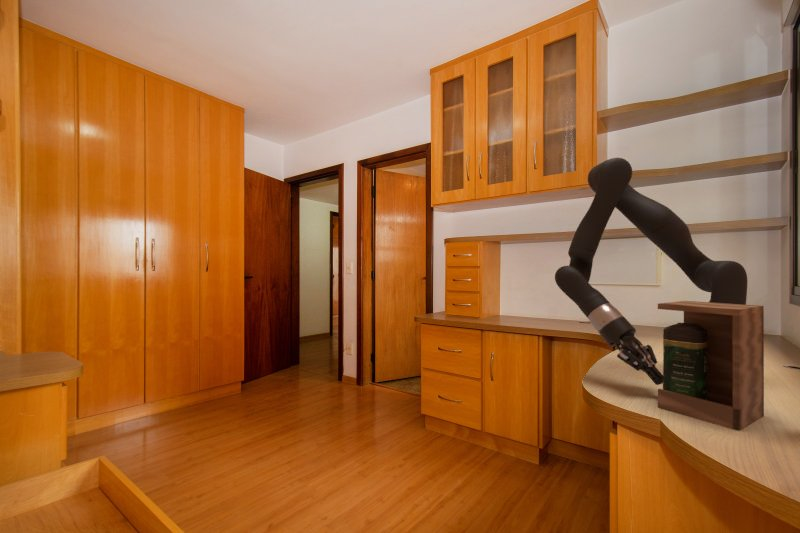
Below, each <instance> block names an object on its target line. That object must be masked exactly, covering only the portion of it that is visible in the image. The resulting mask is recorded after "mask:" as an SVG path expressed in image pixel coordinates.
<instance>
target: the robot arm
mask: <svg viewBox="0 0 800 533" xmlns="http://www.w3.org/2000/svg"><path fill="white" fill-rule="evenodd" d="M632 176H633V167H632V165H631V163H630V162H629V161H627V160H626V159H625V158H622V157H612V158H609V159H607V160H604V161H602V162H600V163H598V164H597V165H594V166H593V167H592V168H591V169H590V170H589V171H588V174H587V183H588V187H590V189H591V190H592V191H593V192H594V193H595V195H594V196H593V199H592V202H591V204H590V206H589V208H588V210H587V212H586V213H585V215H584V216H583V218H582V220H581V221H580V222H579V224H578V226H577V228H576V230H575V233H574V234H573V238H572V239H571V242H570V245H569V249H568V257H569V258H570V260H569V265H563V266H560V267H559V268H558V269H557V270H556V272H555V274H554V282H555V283H556V285H557V286H558V288H559V289H560V290H561V291H562V292H563V293H564V294H565V295H566V296H567V297H568V298H569V299H570V300H571V301H572V302H574V303H575V304H576V305H577V307H578V308H579V309H580V311H581V312H582V313H583V314H584V316H585V317H586V318H587V319H588V321H589V322H590V324H591V325H592V326H593V328H594V329H595V330H596V331H597V332H598V333H599V335H600V336H601V338H602V339H604V341H605V342H606V343H607V344H608V346H609V347H612V348H613V347H616V349H617V350H618V351H619V353H618V354H617V355H616V357H617V358H618V359H619V360H621V361H623V362H624V363H625V364H627V365H628V366H630V367H631V368H633V369H634V370H636V371H638V372H639V371H642V372H643V373H645V374H646V375H647V377H649V379H651V380H652V382H653V383H654V384H655V385H656V386H659V385H663V373H661V371H660V370H659V369H658V368H657V367H656V364H657V363H658V361H657V357H656V355H655V353H654V350H653V348H652V346H651V345H649V344H647V345H644V344H643V343H642V342H641V341H640V340H639V339H638V338H637V337H636V336H635V334H636V332H637V330H636V328H635V327H634V326H633V325H632V324H631V323H630V321H629V320H628V319H627V318H626V317H625V316H624V315H623V314H622V312H621V311H619V309H618V308H616V307H615V306H614V305H613V304H612V303H611V302H610V301H609V300H608V298H606V297H605V296H604V295H603V294H602V293H601V291H599V290H598V289H597V288H595V287H593V285H591V284H590V283H589V282H590V280H591V275H592V269H593V264H594V263H593V261H594V257H595V256H596V252H597V250H598V247H599V245H600V242H601V240H602V237H603V234H604V231H605V229H606V227H607V225H608V222H609V220H610V219H611V216H612V215H613V212H614V210H615V209H617V210H618V211H619V212H620V213H621V214H622V215H623V216H624V217H625V218H626V219H627V220H628V221H629V222H630V223H631V224H632V225H633V226H635V227H636V228H637V229H638V230H639V231H640V233H642V234H643V236H644V237H646V238H647V239H648V240H649V241H650V242H652V243H653V244H654V245H655V246H656V247H658V248H659V249H660V250H661V251H662V252H663V253H664V254H665V255H666V256H667V257H668V258H669V259H671V260H672V261H673V262H674V263H675V264H676V265H677V266H678V267H679V269H681V270H682V272H683V273H684V274H685V275H686V276H687V278H688V279H689V280H690V281H691V282H692V283H693V285H695V286H696V287H697V288H698V289H699V290H702V291H704V292H706V293H710V299H709V301H708V302H712V303H727V304H743V305H747V299H748V298H747V294H748V275H747V271H746V269H745V267H744V266H743V265H742V264H741V263H739V262H737V261H732V260H713V259H711V258H710V257H708V256H707V255H705V253H703V252H702V251H701V250H700V249H699V248H698V247H697V246H696V245H695V243H694V240H693V238H692V235H691V232H690V229H689V227H688V225H687V223H686V222H685V221H684V220H683V219H681V217H680V216H678V215H677V213H675V212H674V211H673V210H672V209H671V208H669V207H668V206H666V205H664V204H662V203H661V202H659V201H657V200H654V199H652V198H650V197H648V196H646V195H644V194H642V193H640V192H638V191H637V190H636V189H634V187H632V186H631V185H630V182H631V180H632Z"/></svg>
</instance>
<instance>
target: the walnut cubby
mask: <svg viewBox="0 0 800 533" xmlns="http://www.w3.org/2000/svg"><path fill="white" fill-rule="evenodd" d="M657 309H658V310H665V311H677V312H683V323H692V324H698V325H699V326H700V327H702V328H704V329H706V330H707V359H708V360H707V400H704V399H700V398H696V397H692V396H688V395H684V394H679V393H675V392H671V391H667V390H663V388H658V389H657V408H658V409H659V408H660V409H663V410H666V411H670V412H673V413H676V414H679V415H682V416H686V417H691V418H694V419H696V420H697V419H698V420H700V421H705V422H708V423H711V424H715V425H718V426H722V427H725V426H726V427H725V428H728V427H729V429H732V430H736V431H741V430H744V429H745V428H746V427H748V426H750V425H751V424H753V423H755V422H756V421H757V420H759V419H761V418H762V417H764V416H765V409H764V408H765V405H764V404H765V394H764V393H765V386H764V385H765V384H764V383H765V381H764V380H765V379H764V378H765V376H764V374H765V373H764V372H765V371H764V370H765V369H764V368H765V365H764V364H765V363H764V361H765V360H764V359H765V358H764V356H765V353H764V352H765V350H764V349H765V348H764V347H765V346H764V343H765V341H764V340H765V338H764V337H765V335H764V334H765V329H764V328H765V327H764V326H765V325H764V322H765V321H764V320H765V317H764V314H765V313H764V312H765V309H764V305H756V304H755V305H754V304H746V305H743V304H727V303H712V302H709V301H708V302H707V301H696V300H695V301H694V300H693V301H692V300H682V301H681V300H680V301H679V300H678V301H672V302H660V303H657Z"/></svg>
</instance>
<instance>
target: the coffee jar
mask: <svg viewBox="0 0 800 533" xmlns="http://www.w3.org/2000/svg"><path fill="white" fill-rule="evenodd" d="M662 331H663V332H662V334H663V335H662V337H663V338H662V342H663V344H662V345H663V348H662V350H663V356H662V357H663V360H662V361H663V364H662V365H663V366H662V368H663V370H662V372H663V373H662V375H663V383H662V389H663V390H667V391H671V392H675V393H679V394H684V395H688V396H692V397H696V398H700V399H704V400H707V360H708V359H707V330H706V329H704V328H702V327H700V326H699V325H698V324H692V323H684V322H677V323H675V324H672V325H668V326H666V327H664V328H663V330H662Z"/></svg>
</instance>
